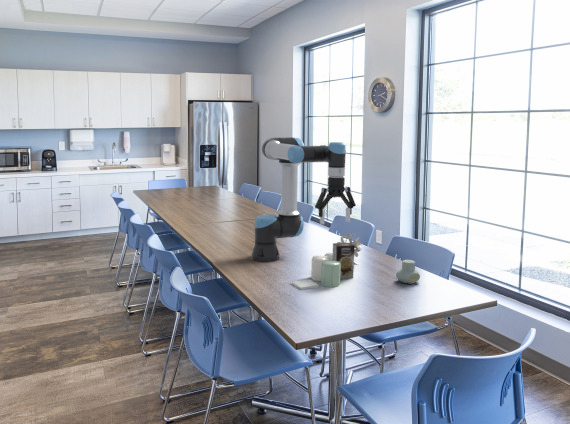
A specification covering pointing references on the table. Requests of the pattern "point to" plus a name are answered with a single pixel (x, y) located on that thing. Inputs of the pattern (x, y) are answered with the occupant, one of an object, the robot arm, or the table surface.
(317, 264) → the cream cup
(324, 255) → the flower vase
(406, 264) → the air freshener
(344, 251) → the coffee box
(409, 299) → the table surface
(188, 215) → the table surface
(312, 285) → the coaster
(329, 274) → the sage green dome
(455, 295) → the table surface
